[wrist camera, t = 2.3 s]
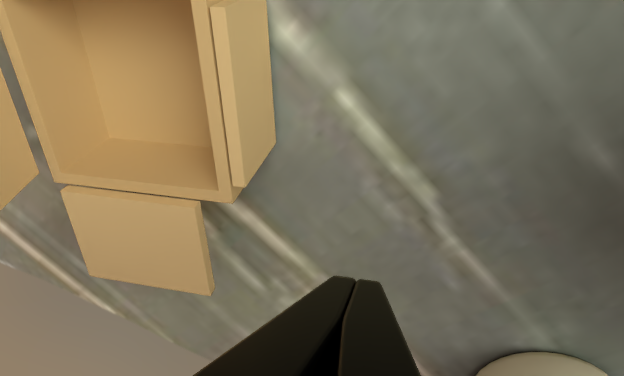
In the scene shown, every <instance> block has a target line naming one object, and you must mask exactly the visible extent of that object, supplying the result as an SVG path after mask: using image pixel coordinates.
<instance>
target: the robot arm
mask: <svg viewBox="0 0 624 376" xmlns="http://www.w3.org/2000/svg"><path fill="white" fill-rule="evenodd" d="M193 376H421V375H420V373H419V370H418V368H417V366H416V363H415V361H414V359H413V357H412V354H411V352H410V350H409V347H408V345H407V343H406V340H405V338H404V336H403V334H402V331H401V329H400V327H399V324H398V322H397V320H396V317H395V315H394V313H393V311H392V308H391V306H390V304H389V301H388V299H387V297H386V294H385V292H384V290H383V288H382V285H381V284H380V283H379V282H377V281H371V280H364V279H359V280H357V282H356V280H355V279H354V278H350V277H343V276H333V277H331V278H329V279H328V280H327V281H325V282H324V283H322V284H321V285H320V286H318V287H317V288H315V289H314V290H313V291H311V292H310V293H308V294H307V295H306V296H304V297H303V298H301V299H300V300H299V301H297V302H296V303H294V304H293V305H291V306H290V307H289V308H287V309H286V310H284V311H283V312H282V313H280V314H279V315H277V316H276V317H275V318H273V319H272V320H270V321H269V322H268V323H266V324H265V325H263V326H262V327H261V328H259V329H258V330H256V331H255V332H253V333H252V334H251V335H249V336H248V337H246V338H245V339H244V340H242V341H241V342H239V343H238V344H237V345H235V346H234V347H232V348H231V349H230V350H228V351H227V352H225V353H224V354H223V355H221V356H220V357H218V358H217V359H215V360H214V361H213V362H211V363H210V364H208V365H207V366H206V367H204V368H203V369H201V370H200V371H199V372H197V373H196V374H194V375H193Z"/></svg>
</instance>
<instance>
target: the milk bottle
mask: <svg viewBox="0 0 624 376" xmlns="http://www.w3.org/2000/svg"><path fill="white" fill-rule="evenodd" d="M476 376H608V375H607V374H606V373H605V372H604V371H603V370H601V369H599V368H597V367H596V366H594V365H592V364H591V363H588V362H586V361H583V360H581V359H578V358H575V357H571V356H567V355H563V354H557V353H548V352H527V353H520V354H513V355H510V356H506V357H503V358H500V359H498V360H496V361H494V362H491V363H489V364H488V365H487V366H485V367H484V368H482V369H481V370H480V371H479V372H478V373H477V375H476Z"/></svg>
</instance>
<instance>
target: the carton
mask: <svg viewBox="0 0 624 376" xmlns="http://www.w3.org/2000/svg"><path fill="white" fill-rule="evenodd" d="M0 31H1V33H2V36H3V39H4V42H5V45H6V48H7V50H8V53H9V56H10V59H11V62H12V64H13V67H14V70H15V73H16V76H17V79H18V81H19V84H20V87H21V90H22V93H23V95H24V98H25V101H26V104H27V107H28V109H29V112H30V115H31V118H32V121H33V124H34V126H35V129H36V132H37V135H38V138H39V140H40V143H41V146H42V149H43V152H44V155H45V157H46V160H47V163H48V166H49V169H50V171H51V174H52V177H53V180H54V182H58V183H66V184H74V185H82V186H91V187H99V188H107V189H115V190H124V191H132V192H140V193H149V194H157V195H165V196H173V197H182V198H190V199H198V200H206V201H215V202H223V203H231V204H233V202H234V201H235V200H236V198H237V197H238V195H239V194H240V192H241V191H242V189H243V188H244V187H246V186H247V184H248V183H249V182H250V180H251V179H252V177H253V176H254V174H255V173H256V171H257V170H258V168H259V167H260V166H261V164H262V163H263V161H264V160H265V158H266V157H267V155H268V154H269V152H270V151H271V150H272V148H273V147H274V145H275V144H276V135H275V121H274V106H273V92H272V78H271V63H270V49H269V34H268V20H267V6H266V0H0ZM60 192H61V195H62V198H63V201H64V204H65V207H66V210H67V212H68V215H69V218H70V221H71V224H72V227H73V229H74V232H75V235H76V238H77V241H78V244H79V246H80V249H81V252H82V255H83V258H84V261H85V264H86V266H87V269H88V272H89V275H90V276H93V277H99V278H105V279H111V280H117V281H123V282H129V283H135V284H141V285H147V286H153V287H159V288H165V289H171V290H177V291H183V292H189V293H195V294H201V295H207V296H211V294H212V293H213V291H214V289H215V285H214V279H213V273H212V267H211V262H210V256H209V250H208V244H207V239H206V233H205V227H204V221H203V216H202V210H201V204H200V201H195V200H187V199H179V198H171V197H162V196H154V195H146V194H138V193H129V192H121V191H113V190H105V189H97V188H88V187H80V186H72V185H67V186H66V187H65V188H64V189H62V190H61V191H60Z"/></svg>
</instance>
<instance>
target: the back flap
mask: <svg viewBox="0 0 624 376" xmlns="http://www.w3.org/2000/svg"><path fill="white" fill-rule="evenodd" d="M38 174H39V171H38V168H37V166H36V163H35V160H34V158H33V155H32V152H31V149H30V147H29V144H28V141H27V139H26V136H25V133H24V131H23V128H22V125H21V122H20V120H19V117H18V114H17V112H16V109H15V106H14V104H13V101H12V98H11V95H10V93H9V90H8V87H7V85H6V82H5V79H4V77H3V74H2V71H1V68H0V210H1V209H2V208H3V207H5V206H6V205H7V204H8V203H9V202H10V201H11V200H12V199H13V198H14V197H15V196H16V195H17V194H18V193H19V192H20V191H21V190H22V189H23V188H24V187H25V186H26V185H27V184H28V183H29V182H30V181H31V180H32V179H33V178H35V177H36V176H37V175H38Z"/></svg>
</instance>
